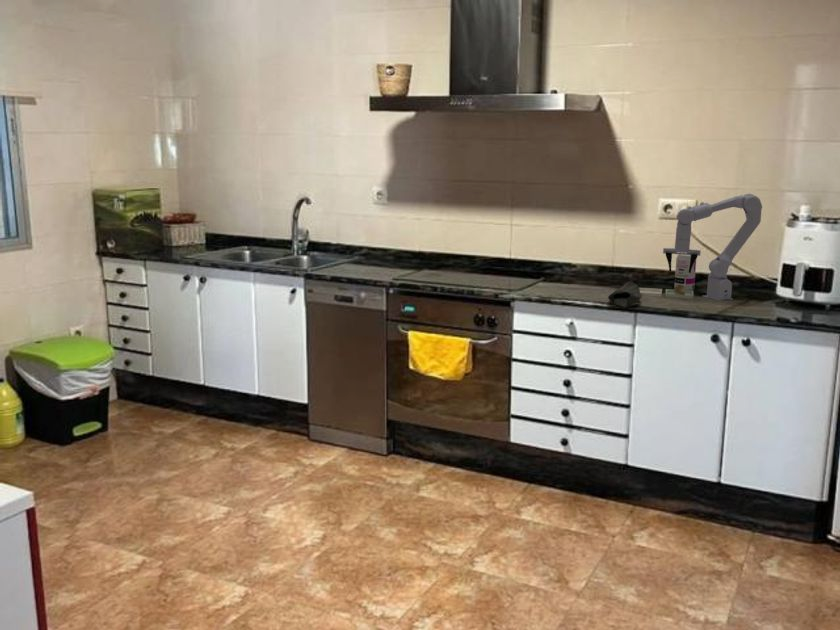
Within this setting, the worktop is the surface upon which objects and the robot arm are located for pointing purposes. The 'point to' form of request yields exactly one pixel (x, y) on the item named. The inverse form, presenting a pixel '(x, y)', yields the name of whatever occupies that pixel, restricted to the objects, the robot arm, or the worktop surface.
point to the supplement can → (684, 272)
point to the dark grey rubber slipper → (626, 295)
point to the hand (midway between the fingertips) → (679, 271)
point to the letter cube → (679, 289)
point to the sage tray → (671, 294)
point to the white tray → (651, 292)
